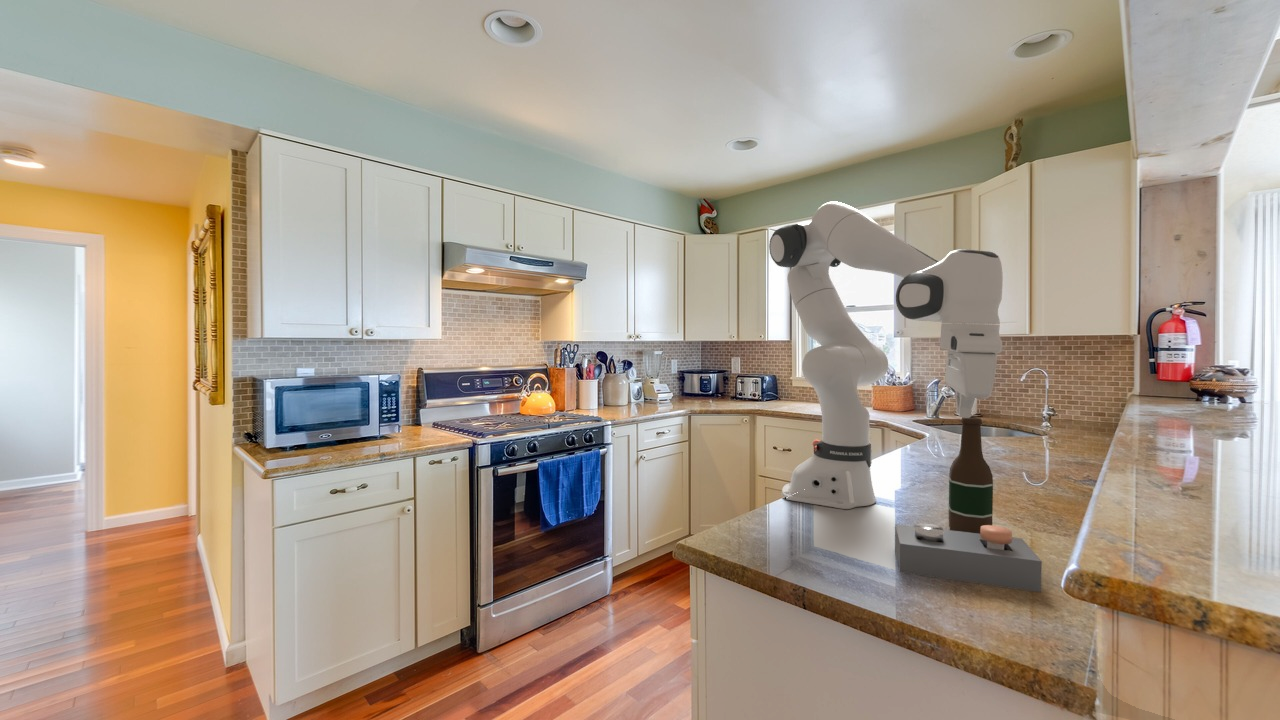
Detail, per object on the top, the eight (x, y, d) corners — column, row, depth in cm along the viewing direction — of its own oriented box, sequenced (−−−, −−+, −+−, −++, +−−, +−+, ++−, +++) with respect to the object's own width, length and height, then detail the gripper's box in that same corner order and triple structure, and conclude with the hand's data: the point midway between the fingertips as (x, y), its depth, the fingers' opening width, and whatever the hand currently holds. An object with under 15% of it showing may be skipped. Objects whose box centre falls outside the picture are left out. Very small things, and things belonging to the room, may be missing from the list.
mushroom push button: (983, 568, 87) (983, 532, 86) (977, 558, 91) (977, 523, 91) (1014, 572, 85) (1015, 536, 85) (1007, 561, 89) (1007, 527, 89)
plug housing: (899, 572, 89) (900, 543, 89) (894, 550, 98) (895, 524, 98) (1041, 592, 81) (1041, 561, 81) (1021, 566, 91) (1021, 538, 91)
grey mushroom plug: (916, 564, 90) (916, 530, 90) (913, 554, 95) (913, 522, 94) (944, 568, 89) (945, 533, 89) (940, 558, 93) (941, 525, 93)
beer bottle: (996, 532, 107) (998, 417, 106) (987, 543, 101) (989, 421, 100) (953, 523, 112) (954, 413, 111) (943, 533, 106) (944, 417, 106)
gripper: (938, 337, 103) (934, 406, 104) (959, 341, 84) (954, 425, 86) (975, 338, 101) (970, 408, 102) (1005, 343, 82) (999, 428, 83)
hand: (963, 416), depth 94 cm, fingers closed
